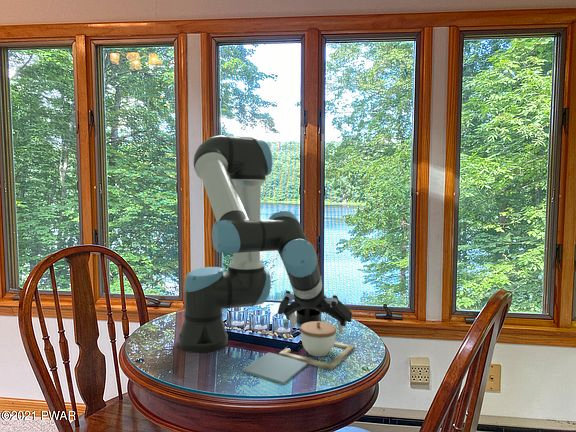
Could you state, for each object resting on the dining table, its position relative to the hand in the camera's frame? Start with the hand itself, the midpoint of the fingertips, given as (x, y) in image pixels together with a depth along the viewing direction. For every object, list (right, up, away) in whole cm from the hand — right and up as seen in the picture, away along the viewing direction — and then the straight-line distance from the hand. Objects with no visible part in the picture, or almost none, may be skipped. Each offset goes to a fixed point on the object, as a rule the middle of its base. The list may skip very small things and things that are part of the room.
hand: (317, 326), depth 116 cm
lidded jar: (0, -10, +7) cm, 12 cm away
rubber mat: (-12, -10, -4) cm, 16 cm away
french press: (-1, -7, +34) cm, 35 cm away
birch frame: (0, -10, +7) cm, 12 cm away
